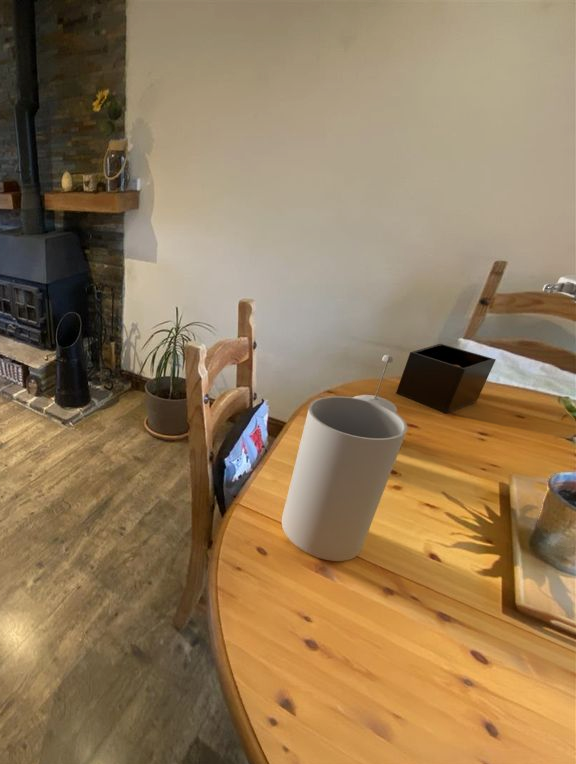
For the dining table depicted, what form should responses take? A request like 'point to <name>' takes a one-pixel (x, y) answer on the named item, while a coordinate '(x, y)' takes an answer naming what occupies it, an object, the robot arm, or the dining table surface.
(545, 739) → the dining table surface
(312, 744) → the dining table surface
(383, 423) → the cylinder vase
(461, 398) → the bin
